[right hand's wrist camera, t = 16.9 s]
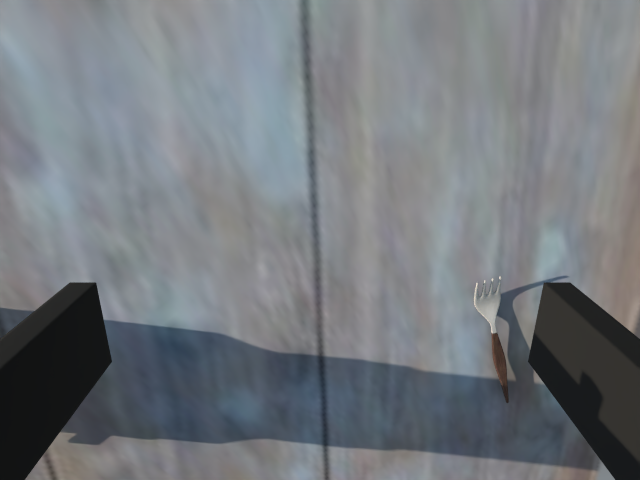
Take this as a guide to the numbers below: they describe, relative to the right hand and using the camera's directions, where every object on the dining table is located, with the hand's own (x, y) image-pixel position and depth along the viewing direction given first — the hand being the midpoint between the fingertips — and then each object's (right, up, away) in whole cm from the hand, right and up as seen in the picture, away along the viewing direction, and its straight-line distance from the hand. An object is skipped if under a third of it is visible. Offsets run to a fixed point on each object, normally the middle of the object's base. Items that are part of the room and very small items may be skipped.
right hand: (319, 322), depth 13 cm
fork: (+18, -8, +31) cm, 37 cm away
